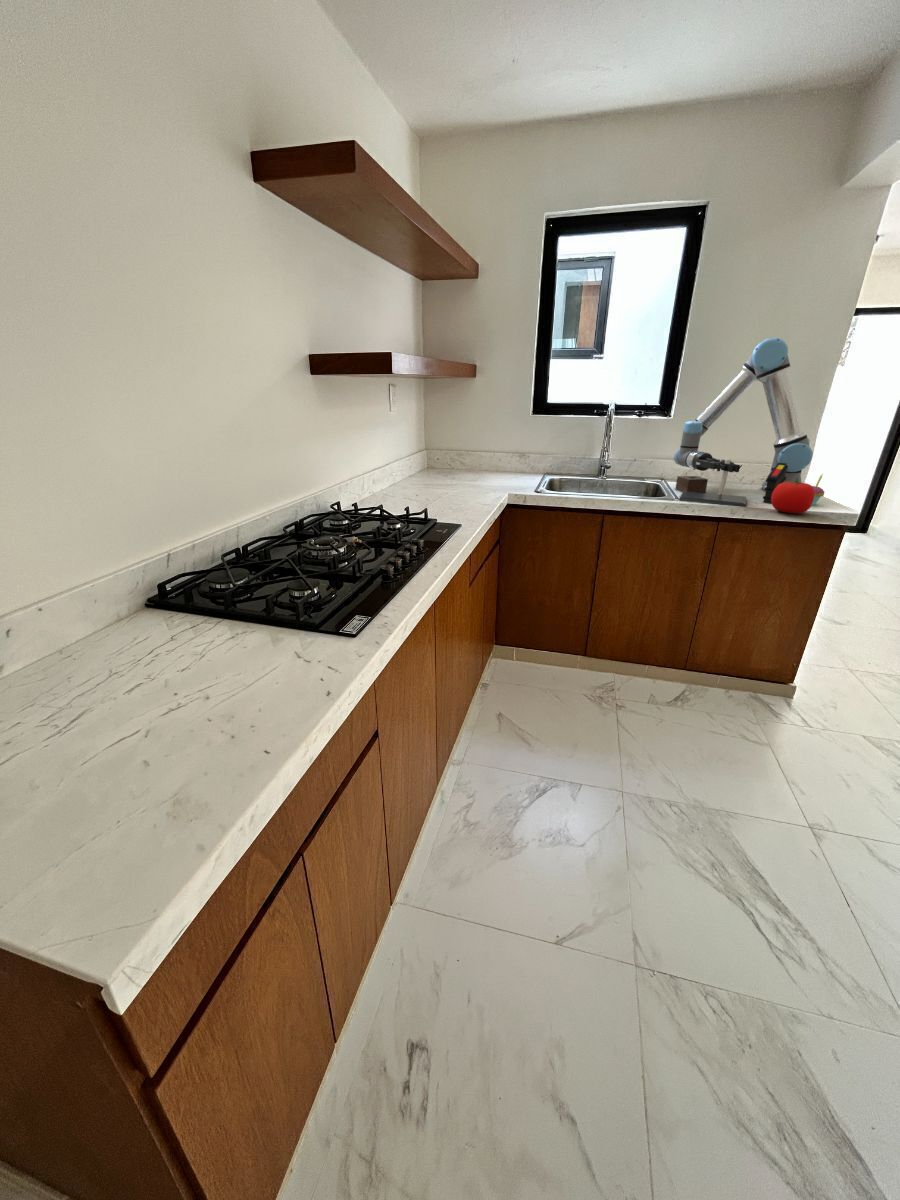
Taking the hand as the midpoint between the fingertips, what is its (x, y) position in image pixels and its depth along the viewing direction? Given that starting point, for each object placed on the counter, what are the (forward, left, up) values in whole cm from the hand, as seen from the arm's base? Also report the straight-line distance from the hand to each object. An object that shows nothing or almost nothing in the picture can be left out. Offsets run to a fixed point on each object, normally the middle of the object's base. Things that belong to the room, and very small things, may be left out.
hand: (735, 468), depth 197 cm
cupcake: (-28, -13, -13) cm, 34 cm away
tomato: (-20, +9, -13) cm, 26 cm away
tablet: (+6, -3, -13) cm, 15 cm away
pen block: (+16, -19, -13) cm, 28 cm away
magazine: (-15, -11, -13) cm, 23 cm away
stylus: (+3, -4, -12) cm, 13 cm away
